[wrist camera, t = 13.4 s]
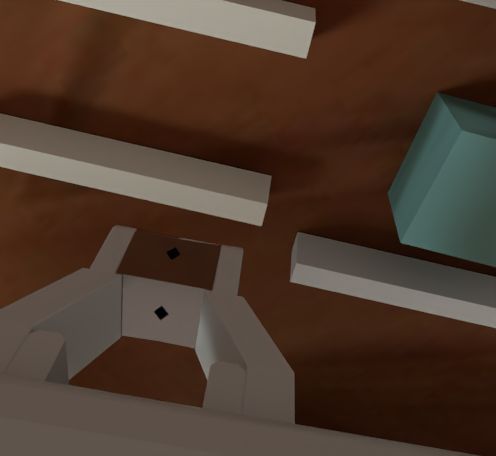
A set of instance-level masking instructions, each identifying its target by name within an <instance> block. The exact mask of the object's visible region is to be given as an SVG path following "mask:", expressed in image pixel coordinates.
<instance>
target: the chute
mask: <svg viewBox="0 0 496 456" xmlns="http://www.w3.org/2000/svg"><path fill="white" fill-rule="evenodd" d="M60 1H64V2H69V3H73V4H77V5H81V6H85V7H90V8H94V9H98V10H102V11H107V12H111V13H115V14H119V15H124V16H128V17H132V18H136V19H140V20H145V21H149V22H153V23H157V24H162V25H166V26H170V27H174V28H178V29H183V30H187V31H191V32H195V33H200V34H204V35H208V36H212V37H217V38H221V39H225V40H229V41H233V42H238V43H242V44H246V45H250V46H255V47H259V48H263V49H267V50H272V51H276V52H280V53H284V54H288V55H293V56H297V57H301V58H305V59H306V57H307V54H308V50H309V46H310V42H311V38H312V35H313V31H314V27H315V23H316V15H315V8H312V7H308V6H303V5H299V4H295V3H291V2H287V1H282V0H60ZM0 167H3V168H8V169H12V170H17V171H21V172H25V173H30V174H34V175H38V176H43V177H47V178H52V179H56V180H60V181H65V182H69V183H74V184H78V185H82V186H87V187H91V188H96V189H100V190H104V191H109V192H113V193H117V194H122V195H126V196H131V197H135V198H139V199H144V200H148V201H153V202H157V203H161V204H166V205H170V206H174V207H179V208H183V209H188V210H192V211H196V212H201V213H205V214H210V215H214V216H218V217H223V218H227V219H232V220H236V221H240V222H245V223H249V224H253V225H258V226H262V223H263V219H264V215H265V212H266V208H267V204H268V197H269V191H270V184H271V177H272V176H270V175H266V174H261V173H257V172H253V171H248V170H244V169H240V168H235V167H231V166H227V165H222V164H218V163H214V162H209V161H205V160H201V159H196V158H192V157H188V156H183V155H179V154H175V153H170V152H166V151H162V150H157V149H153V148H149V147H144V146H140V145H136V144H131V143H127V142H122V141H118V140H114V139H109V138H105V137H101V136H96V135H92V134H88V133H83V132H79V131H75V130H70V129H66V128H62V127H57V126H53V125H49V124H44V123H40V122H36V121H31V120H27V119H23V118H18V117H14V116H10V115H5V114H1V113H0Z"/></svg>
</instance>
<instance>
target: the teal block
mask: <svg viewBox="0 0 496 456" xmlns="http://www.w3.org/2000/svg"><path fill="white" fill-rule="evenodd" d="M388 197H389V201H390V205H391V209H392V212H393V216H394V220H395V224H396V228H397V232H398V236H399V240H400V243H403V244H407V245H411V246H415V247H419V248H423V249H426V250H430V251H434V252H438V253H442V254H446V255H450V256H454V257H458V258H462V259H465V260H469V261H473V262H477V263H481V264H485V265H489V266H493V267H496V108H495V107H491V106H487V105H483V104H480V103H476V102H472V101H469V100H465V99H461V98H458V97H454V96H450V95H447V94H443V93H439V92H437V93H436V95H435V97H434V99H433V101H432V103H431V105H430V107H429V109H428V111H427V114H426V116H425V118H424V120H423V122H422V124H421V126H420V128H419V130H418V132H417V134H416V136H415V138H414V140H413V142H412V144H411V146H410V148H409V150H408V153H407V155H406V157H405V159H404V161H403V163H402V165H401V167H400V169H399V171H398V173H397V175H396V177H395V179H394V181H393V183H392V185H391V187H390V189H389V192H388Z"/></svg>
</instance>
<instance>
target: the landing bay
mask: <svg viewBox="0 0 496 456" xmlns="http://www.w3.org/2000/svg"><path fill="white" fill-rule="evenodd" d="M461 1H465V2H470V3H474V4H478V5H482V6H486V7H490V8H494V9H496V0H461ZM290 282H293V283H298V284H302V285H307V286H311V287H316V288H320V289H325V290H329V291H333V292H338V293H342V294H347V295H351V296H356V297H360V298H364V299H369V300H373V301H378V302H382V303H387V304H391V305H395V306H400V307H404V308H409V309H413V310H418V311H422V312H426V313H431V314H435V315H440V316H444V317H449V318H453V319H458V320H462V321H466V322H471V323H475V324H480V325H484V326H489V327H493V328H496V277H494V276H490V275H485V274H481V273H476V272H472V271H468V270H463V269H459V268H455V267H450V266H446V265H441V264H437V263H433V262H428V261H424V260H419V259H415V258H411V257H406V256H402V255H397V254H393V253H389V252H384V251H380V250H376V249H371V248H367V247H362V246H358V245H354V244H349V243H345V242H340V241H336V240H332V239H327V238H323V237H319V236H314V235H310V234H305V233H301V232H298V233H297V236H296V239H295V242H294V245H293V248H292V256H291V274H290Z"/></svg>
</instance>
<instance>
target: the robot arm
mask: <svg viewBox="0 0 496 456" xmlns="http://www.w3.org/2000/svg"><path fill="white" fill-rule="evenodd" d="M220 249H221V251H220ZM219 255H220V256H219ZM242 258H243V248H240V247H234V246H227V245H222V246H221V245H217V244H212V243H206V242H201V241H195V240H190V239H184V238H180V237H175V236H170V235H165V234H161V233H156V232H151V231H146V230H141V229H136V228H131V227H126V226H120V225H115V226H114V227H113V228H112V229H111V231H110V233H109V234H108V236H107V238H106V240H105V242H104V243H103V245H102V247H101V249H100V251H99V252H98V254H97V256H96V258H95V260H94V261H93V263H92V265H91V267H90V269H87V268H81V269H79V270H77V271H75V272H73V273H71V274H69V275H67V276H65V277H63V278H61V279H59V280H57V281H55V282H53V283H51V284H49V285H47V286H45V287H43V288H41V289H39V290H37V291H35V292H33V293H31V294H29V295H28V296H26V297H24V298H22V299H20V300H18V301H16V302H14V303H12V304H10V305H8V306H6V307H4V308H2V309H0V456H479V455H473V454H468V453H462V452H456V451H450V450H444V449H439V448H433V447H427V446H421V445H415V444H409V443H404V442H398V441H392V440H386V439H380V438H375V437H369V436H363V435H357V434H351V433H345V432H340V431H334V430H328V429H322V428H316V427H311V426H305V425H299V424H295V380H294V372H293V370H292V369H291V367H290V366H289V364H288V363H287V361H286V360H285V358H284V357H283V355H282V354H281V352H280V351H279V349H278V348H277V346H276V345H275V343H274V342H273V340H272V339H271V337H270V336H269V334H268V333H267V331H266V330H265V328H264V327H263V325H262V324H261V322H260V321H259V319H258V318H257V316H256V315H255V313H254V312H253V310H252V309H251V307H250V306H249V304H248V303H247V301H246V300H245V298H244V297H241V296H237V294H238V287H239V280H240V272H241V265H242ZM121 335H122V336H128V337H135V338H142V339H149V340H155V341H161V342H166V343H171V344H176V345H181V346H185V347H190V348H195V351H196V354H197V356H198V359H199V361H200V364H201V366H202V369H203V371H204V373H205V376H206V378H207V386H206V391H205V396H204V401H203V406H202V408H200V407H194V406H188V405H183V404H177V403H171V402H165V401H159V400H153V399H148V398H142V397H136V396H130V395H124V394H119V393H113V392H107V391H101V390H95V389H89V388H84V387H78V386H72V385H69V380H70V379H71V378H72V377H73V376H75V375H76V374H77V373H78V372H79V371H81V370H82V369H83V368H84V367H86V366H87V365H88V364H89V363H90V362H92V361H93V360H94V359H95V358H96V357H98V356H99V355H100V354H101V353H103V352H104V351H105V350H106V349H107V348H109V347H110V346H111V345H112V344H113V343H115V342H116V341H117V340H118V339H120V338H121Z"/></svg>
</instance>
